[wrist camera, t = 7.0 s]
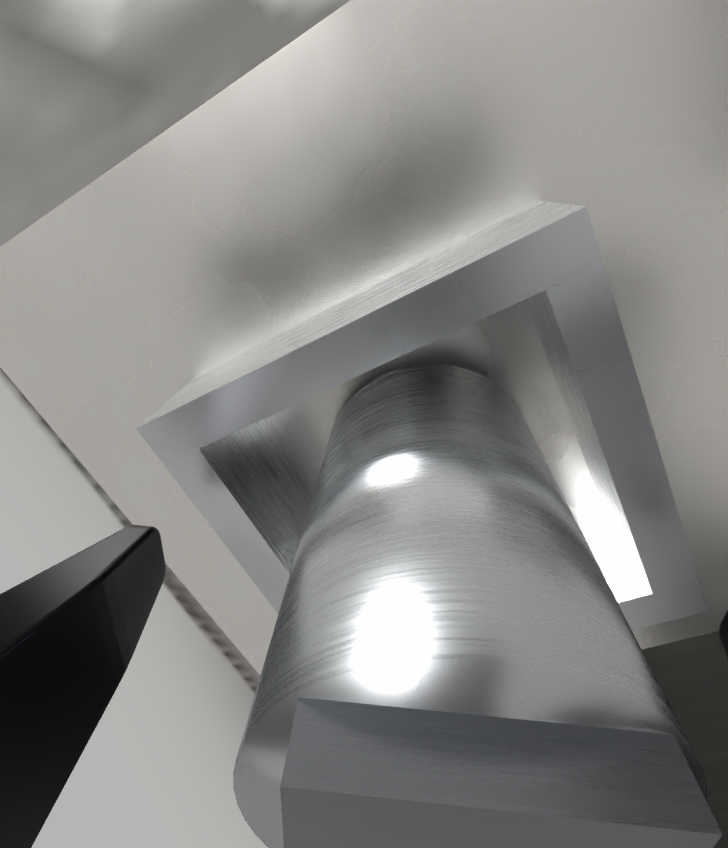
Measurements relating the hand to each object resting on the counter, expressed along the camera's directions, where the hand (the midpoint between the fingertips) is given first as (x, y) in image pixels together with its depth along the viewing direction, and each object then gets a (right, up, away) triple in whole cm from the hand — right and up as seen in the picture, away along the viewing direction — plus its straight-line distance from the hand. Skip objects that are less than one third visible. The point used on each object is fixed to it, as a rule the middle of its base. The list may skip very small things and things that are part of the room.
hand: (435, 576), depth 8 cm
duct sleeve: (0, +2, +4) cm, 4 cm away
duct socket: (0, +2, +4) cm, 4 cm away
